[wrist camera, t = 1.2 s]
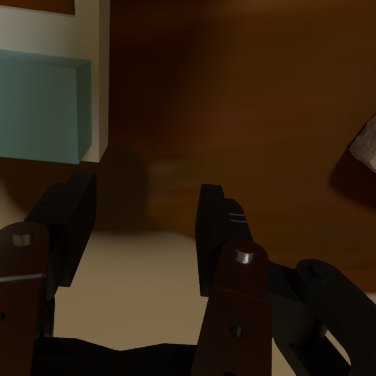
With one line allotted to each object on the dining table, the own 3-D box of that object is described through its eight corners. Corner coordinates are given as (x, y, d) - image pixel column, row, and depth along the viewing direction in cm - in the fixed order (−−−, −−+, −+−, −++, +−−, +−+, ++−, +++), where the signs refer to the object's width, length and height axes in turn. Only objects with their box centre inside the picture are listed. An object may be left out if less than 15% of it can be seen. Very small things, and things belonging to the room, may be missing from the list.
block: (-1, 49, 22) (-34, 55, 19) (91, 60, 23) (75, 68, 19) (10, 135, 25) (-18, 154, 21) (91, 143, 25) (78, 164, 22)
